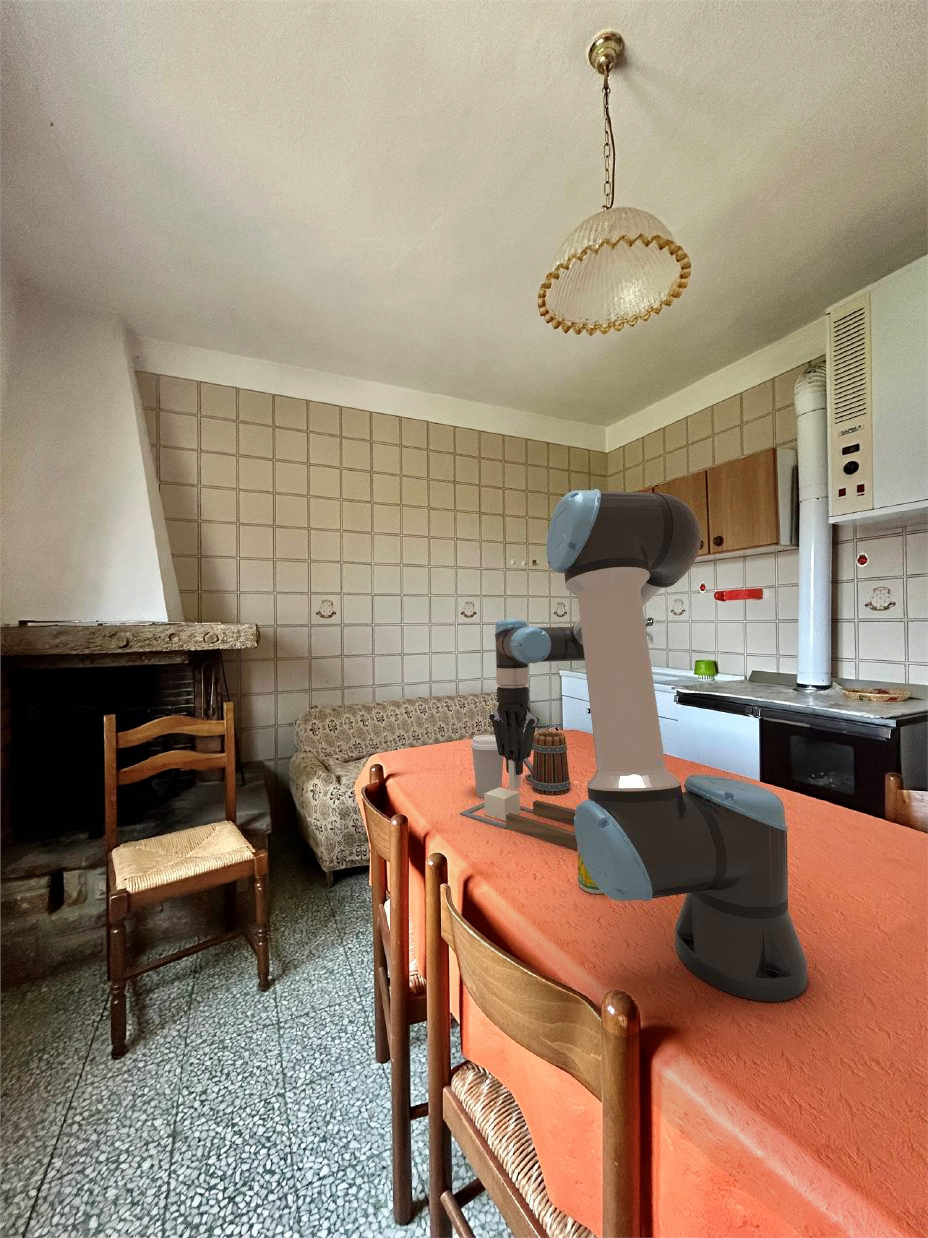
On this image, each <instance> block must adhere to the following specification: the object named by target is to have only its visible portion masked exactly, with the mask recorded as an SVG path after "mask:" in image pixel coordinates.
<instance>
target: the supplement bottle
mask: <svg viewBox="0 0 928 1238" xmlns="http://www.w3.org/2000/svg"><path fill="white" fill-rule="evenodd" d="M577 847H578V846H577ZM577 881H578V886H579V887H580V888H581V889H582V890H583V891H585V892H587V893H590V894H594V895H595V894H596V895H600V894H604V893H603V892H602V891H601V890H600V889H599V888H598V887H597V885H596V884H595V883H594V881H593V880H592V878H591V876H590V874H589V872H588V871H587V869H586V867H585V864H584V862H583V860H582V857H581V854H580V851H579V848H578V851H577Z"/></svg>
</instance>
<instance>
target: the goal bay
mask: <svg viewBox="0 0 928 1238" xmlns="http://www.w3.org/2000/svg"><path fill="white" fill-rule="evenodd" d="M482 809H485V804H484V802H481V803H479V804H477V805H475V806H473V807H469V808H468V809H466V810H463V811H461V812H459V816H463V817H466V818H469V819H471V820H472V819H473V820H476V821H478V822H482V823H485V824H487V825H490V826H494V827H497V828H499V829H502V830H503V829H504V830H507V829H506V823H503V822H500V821H497V820H493V819H490V818H488V817H484V816H481V815H478V814H474V813H475V812H476V811H479V810H482ZM520 811H523V812H526V813H529V814H533V808H530V807H527V806H523V805H520Z"/></svg>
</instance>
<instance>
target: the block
mask: <svg viewBox="0 0 928 1238" xmlns="http://www.w3.org/2000/svg"><path fill="white" fill-rule="evenodd" d="M483 799H484V801H483V803H484V804H485V807H484V815H485V816H488V817H491V818H494V819H498V820H501V821H504V822H506V815H507V814H509V813H513V814H516V815H520V814H521V810H520V806H521V792H520V791H516V790H512V789H509V788H504V787H502V788H501V787H499V788H496V789H494V790H492V791H489V792H487V793H484V798H483Z"/></svg>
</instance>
